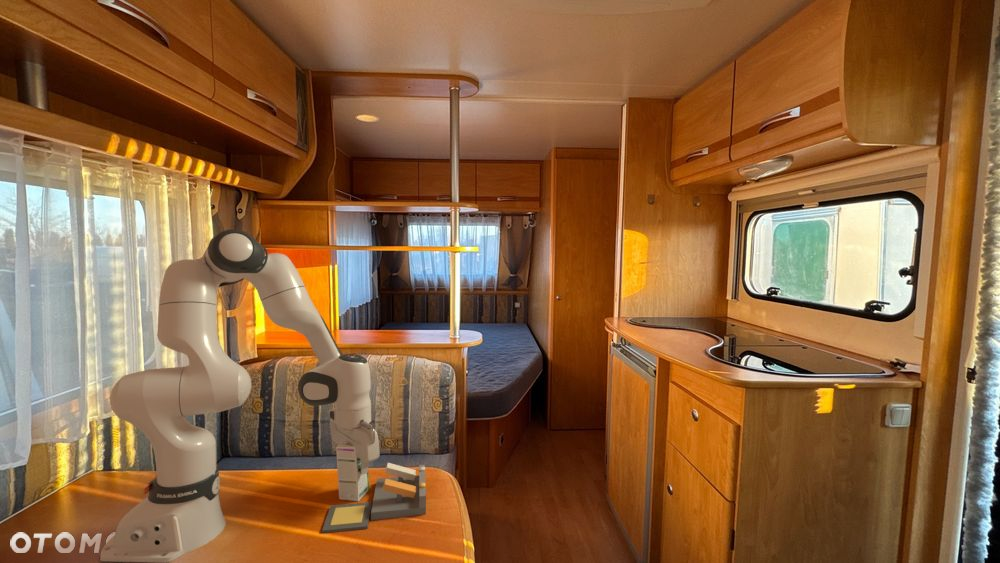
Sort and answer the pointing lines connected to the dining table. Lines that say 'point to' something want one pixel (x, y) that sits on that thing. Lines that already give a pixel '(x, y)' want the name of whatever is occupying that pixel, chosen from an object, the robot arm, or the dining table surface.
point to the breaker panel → (399, 499)
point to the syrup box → (350, 473)
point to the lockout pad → (347, 517)
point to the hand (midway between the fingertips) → (354, 466)
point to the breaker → (400, 471)
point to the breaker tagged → (399, 488)
